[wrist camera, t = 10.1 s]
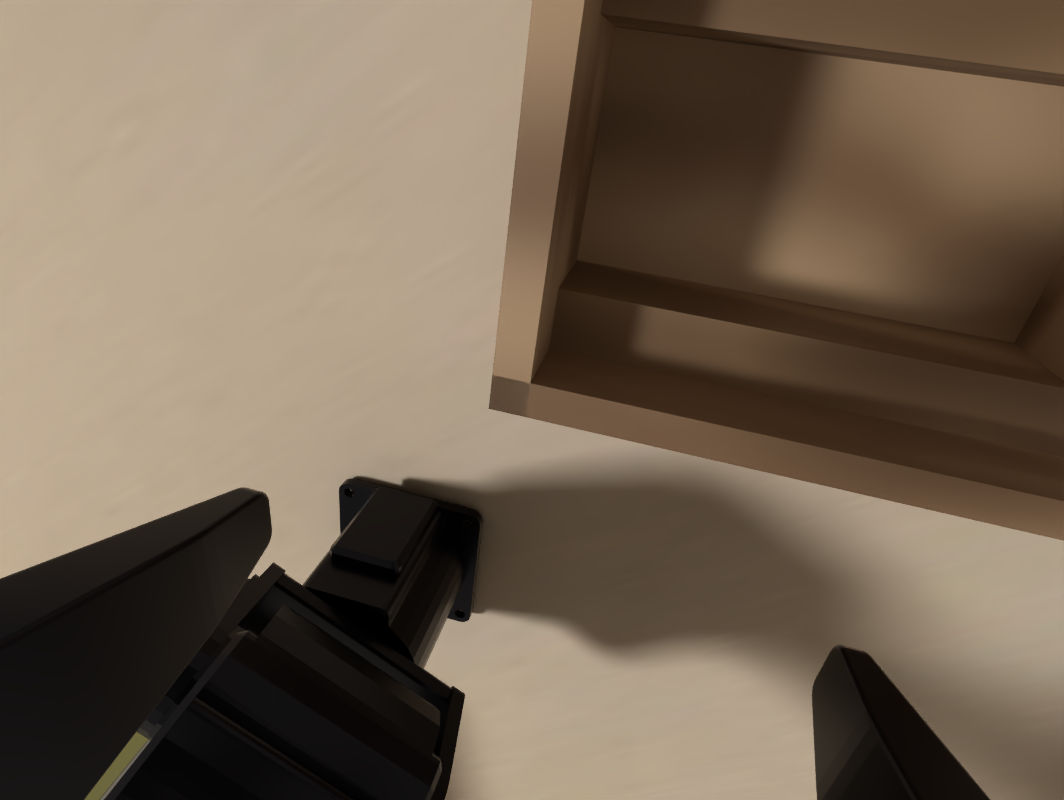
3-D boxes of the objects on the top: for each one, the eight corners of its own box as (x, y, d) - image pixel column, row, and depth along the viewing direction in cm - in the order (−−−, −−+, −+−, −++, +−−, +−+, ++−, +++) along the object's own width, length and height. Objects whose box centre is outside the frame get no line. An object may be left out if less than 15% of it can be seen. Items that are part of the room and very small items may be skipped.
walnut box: (991, 419, 19) (1114, 552, 14) (540, 326, 21) (488, 408, 16) (1253, -33, 14) (1645, -120, 8) (601, -101, 16) (554, -206, 10)
